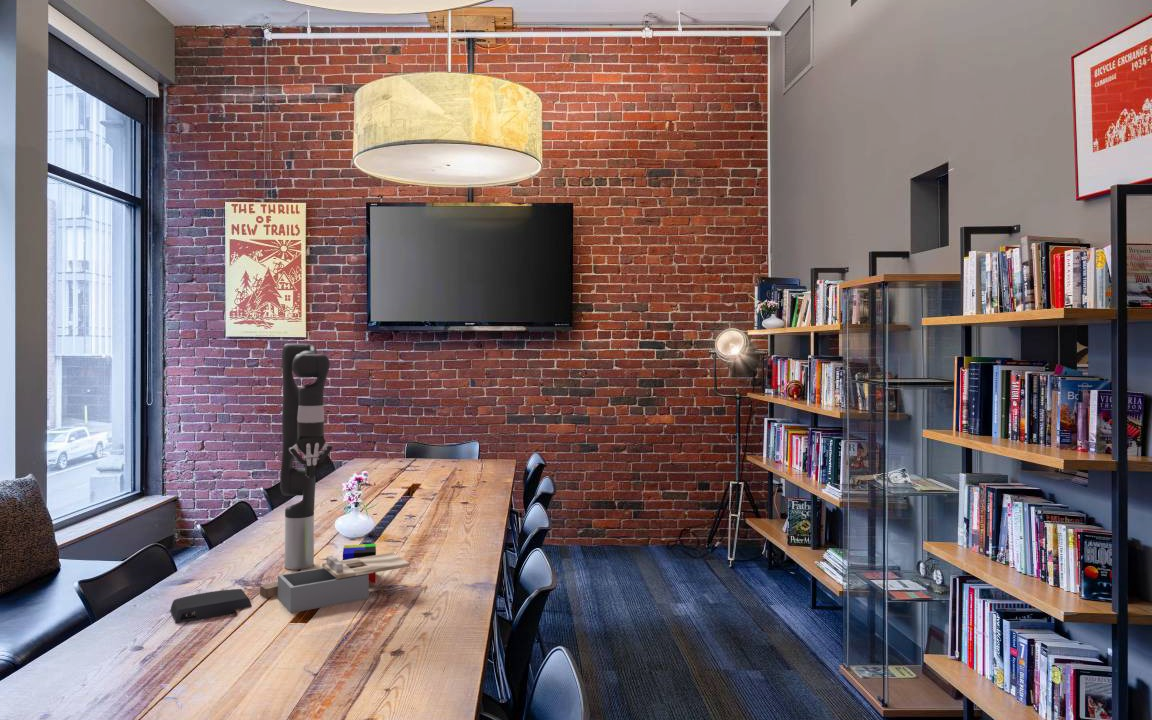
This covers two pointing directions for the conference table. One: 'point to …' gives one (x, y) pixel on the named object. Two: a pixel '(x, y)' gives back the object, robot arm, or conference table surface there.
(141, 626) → the conference table surface
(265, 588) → the brown block
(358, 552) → the puzzle toy
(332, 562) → the lid
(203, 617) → the external hard drive
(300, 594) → the toolbox
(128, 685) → the conference table surface
